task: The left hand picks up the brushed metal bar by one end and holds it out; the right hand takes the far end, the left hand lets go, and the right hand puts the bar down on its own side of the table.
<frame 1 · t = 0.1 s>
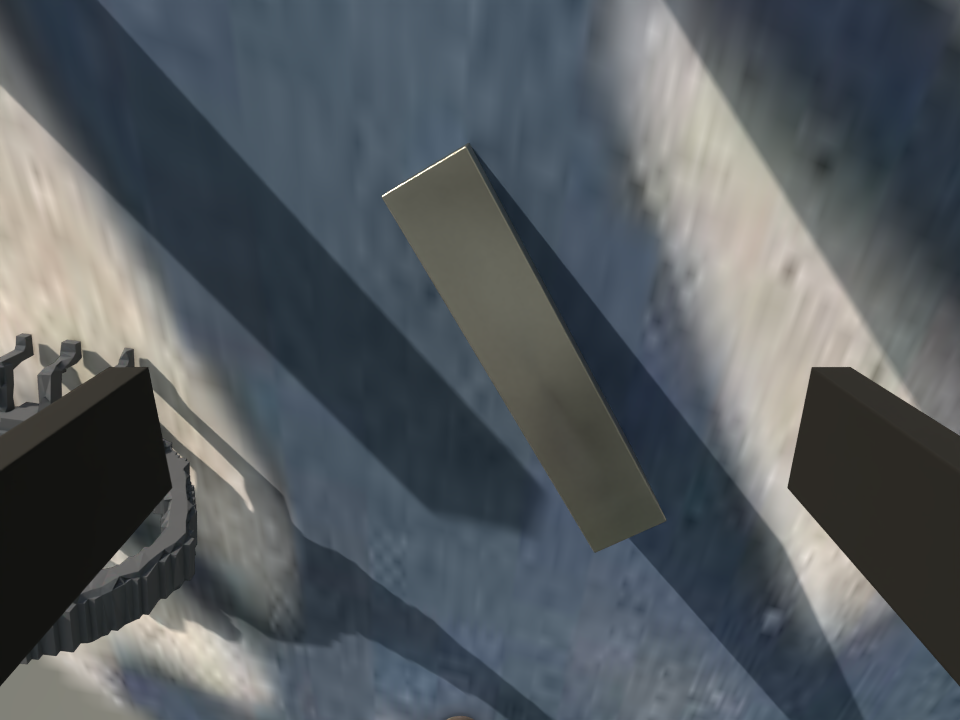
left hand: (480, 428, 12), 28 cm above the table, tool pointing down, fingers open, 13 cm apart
bar: (526, 325, 41), on the table
toy: (66, 419, 43), on the table
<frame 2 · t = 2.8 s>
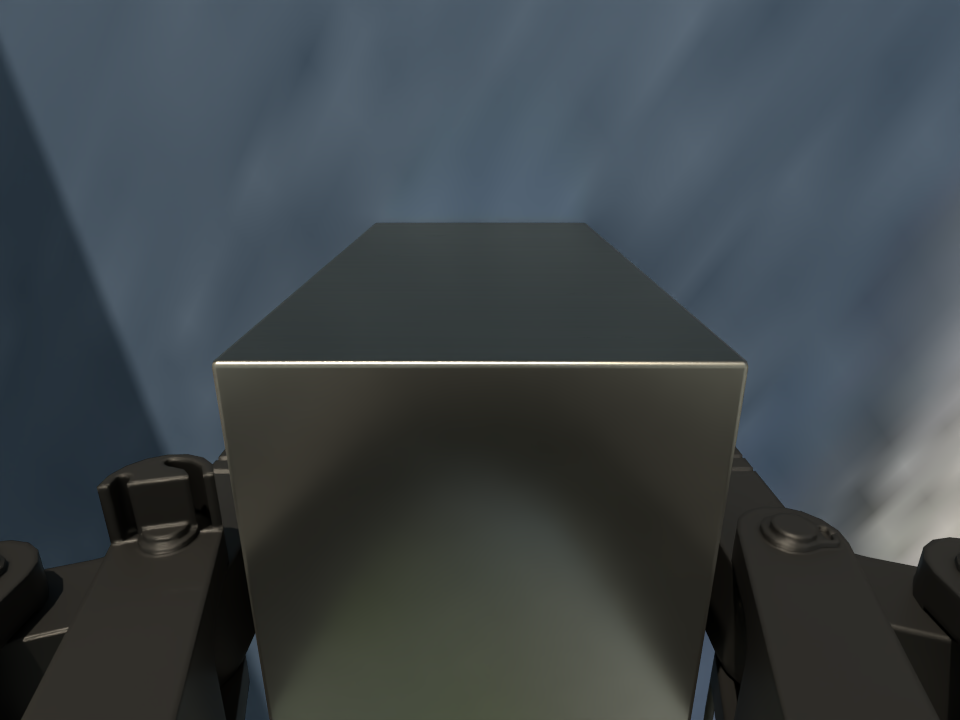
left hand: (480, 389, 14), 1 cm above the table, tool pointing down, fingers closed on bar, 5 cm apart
bar: (480, 640, 18), on the table, touching left hand
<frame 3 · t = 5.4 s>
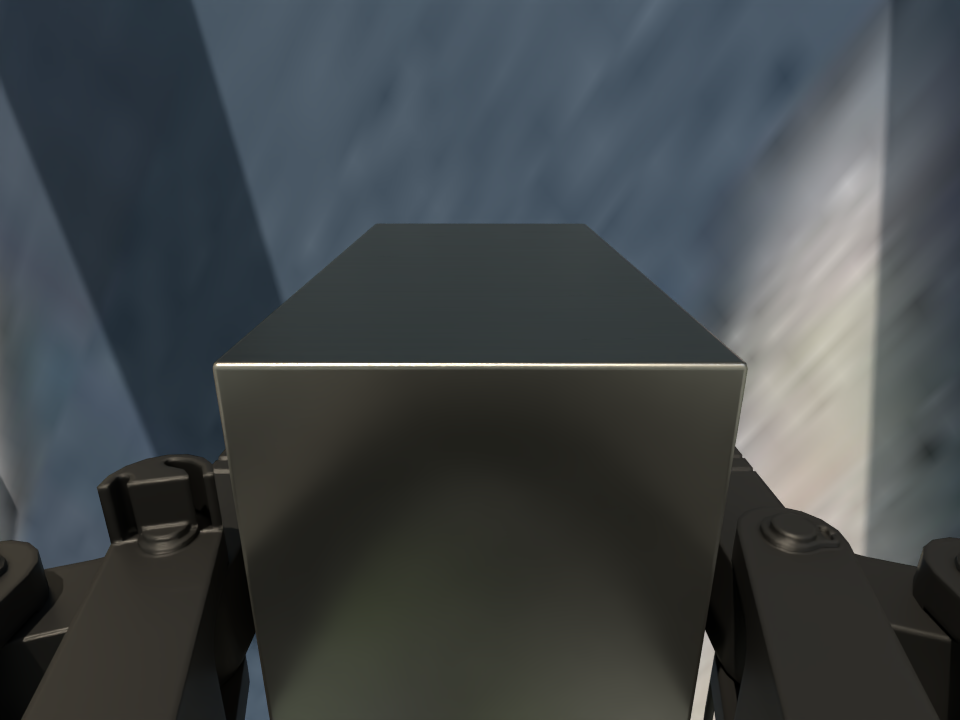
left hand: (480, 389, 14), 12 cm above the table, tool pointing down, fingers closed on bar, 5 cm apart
bar: (480, 640, 18), point 11 cm above the table, touching left hand
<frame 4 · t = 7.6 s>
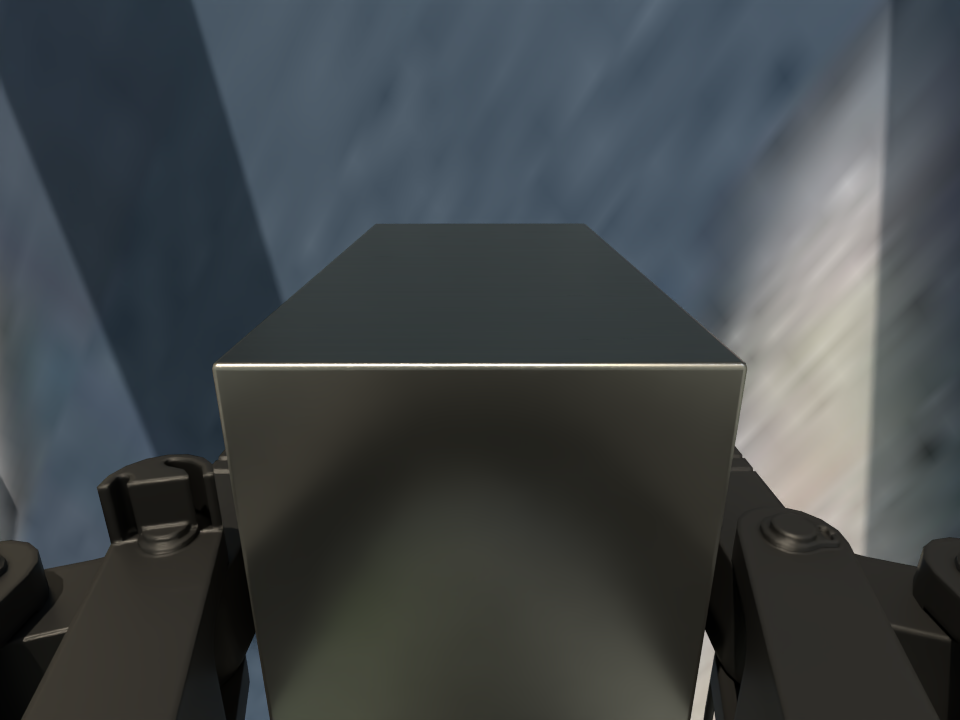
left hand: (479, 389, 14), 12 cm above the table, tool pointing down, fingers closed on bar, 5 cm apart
bar: (480, 640, 18), point 11 cm above the table, touching left hand, right hand
when the left hand's fingers open (12 cm above the table, at t = 8.3 s): bar stays where it is, held by the right hand.
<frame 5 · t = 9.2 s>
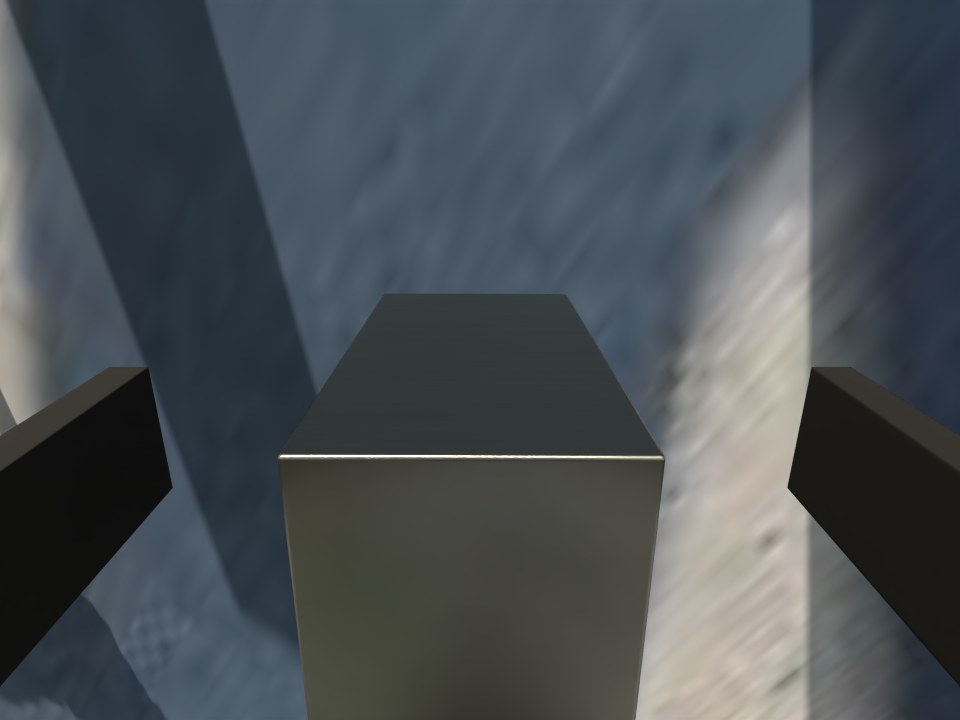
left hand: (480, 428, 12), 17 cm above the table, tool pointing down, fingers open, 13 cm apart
bar: (474, 658, 19), point 13 cm above the table, touching right hand
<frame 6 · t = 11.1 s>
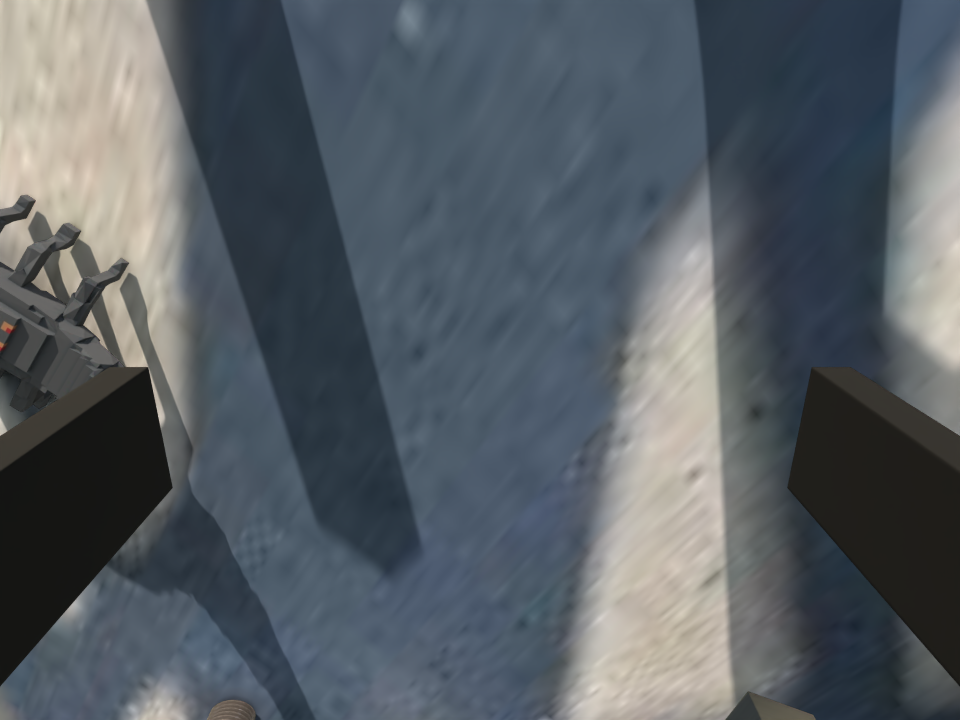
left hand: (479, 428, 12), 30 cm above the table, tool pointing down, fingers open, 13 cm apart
light bulb: (234, 713, 56), on the table
toy: (23, 287, 42), on the table
when the right hand's fingers open (2 cm above the table, at t = 14.9 s): bar drops 1 cm, on the table.
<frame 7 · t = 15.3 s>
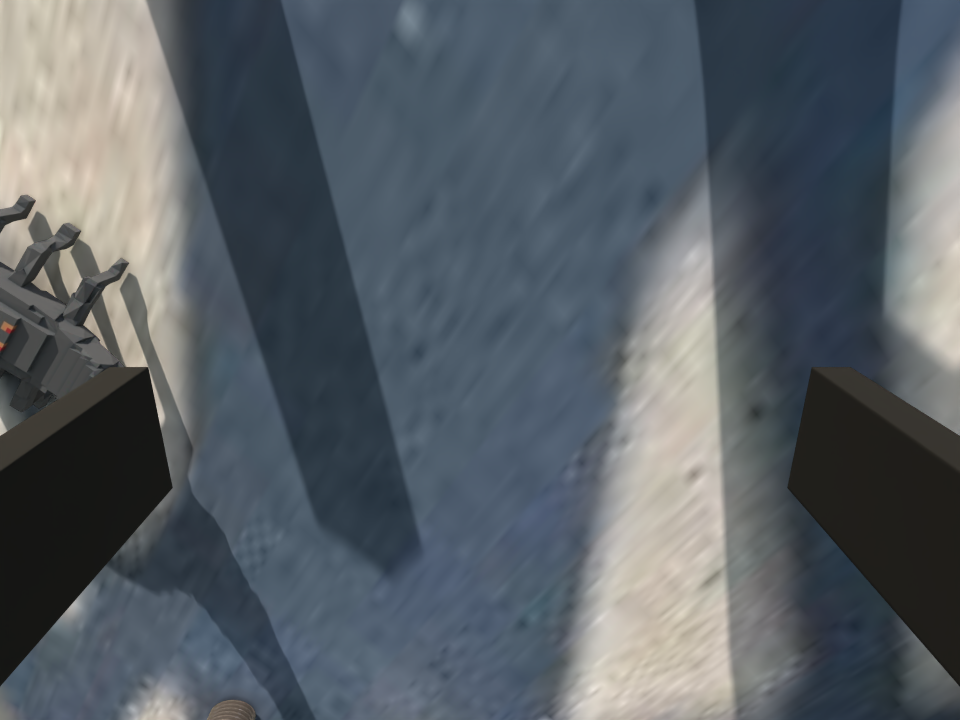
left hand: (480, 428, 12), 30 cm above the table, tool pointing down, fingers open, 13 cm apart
light bulb: (234, 713, 56), on the table
toy: (23, 287, 42), on the table
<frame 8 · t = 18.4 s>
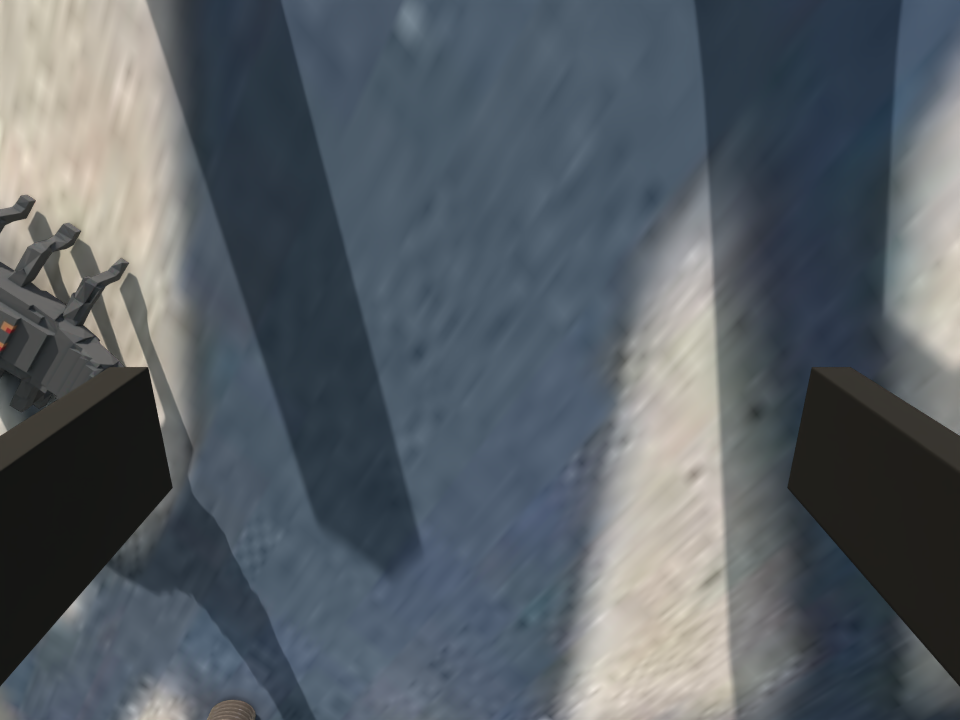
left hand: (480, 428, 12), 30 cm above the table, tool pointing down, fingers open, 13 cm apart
light bulb: (234, 713, 56), on the table
toy: (23, 287, 42), on the table
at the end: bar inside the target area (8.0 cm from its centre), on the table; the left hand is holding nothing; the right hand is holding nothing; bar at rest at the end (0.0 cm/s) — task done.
